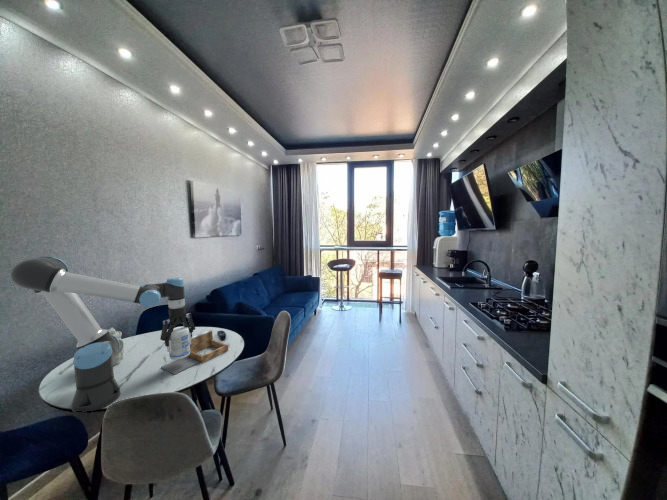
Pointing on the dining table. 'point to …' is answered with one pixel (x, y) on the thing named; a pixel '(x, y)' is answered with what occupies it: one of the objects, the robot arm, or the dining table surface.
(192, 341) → the frame
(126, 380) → the dining table surface
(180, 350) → the supplement tub
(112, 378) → the robot arm
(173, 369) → the mat
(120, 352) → the beige lumpy upright piece
